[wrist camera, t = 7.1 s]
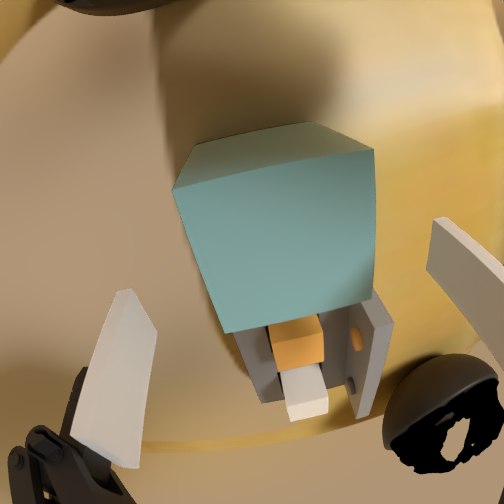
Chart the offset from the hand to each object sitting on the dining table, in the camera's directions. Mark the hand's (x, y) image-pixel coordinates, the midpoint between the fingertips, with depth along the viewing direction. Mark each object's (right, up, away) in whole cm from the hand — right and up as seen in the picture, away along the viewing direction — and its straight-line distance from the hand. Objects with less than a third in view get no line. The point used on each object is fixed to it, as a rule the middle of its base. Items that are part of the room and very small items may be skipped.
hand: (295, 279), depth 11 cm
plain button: (+3, -12, +17) cm, 21 cm away
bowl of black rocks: (+26, -18, +26) cm, 41 cm away
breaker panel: (+2, -7, +17) cm, 19 cm away
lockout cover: (-1, +6, +9) cm, 10 cm away
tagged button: (+2, -4, +14) cm, 15 cm away
